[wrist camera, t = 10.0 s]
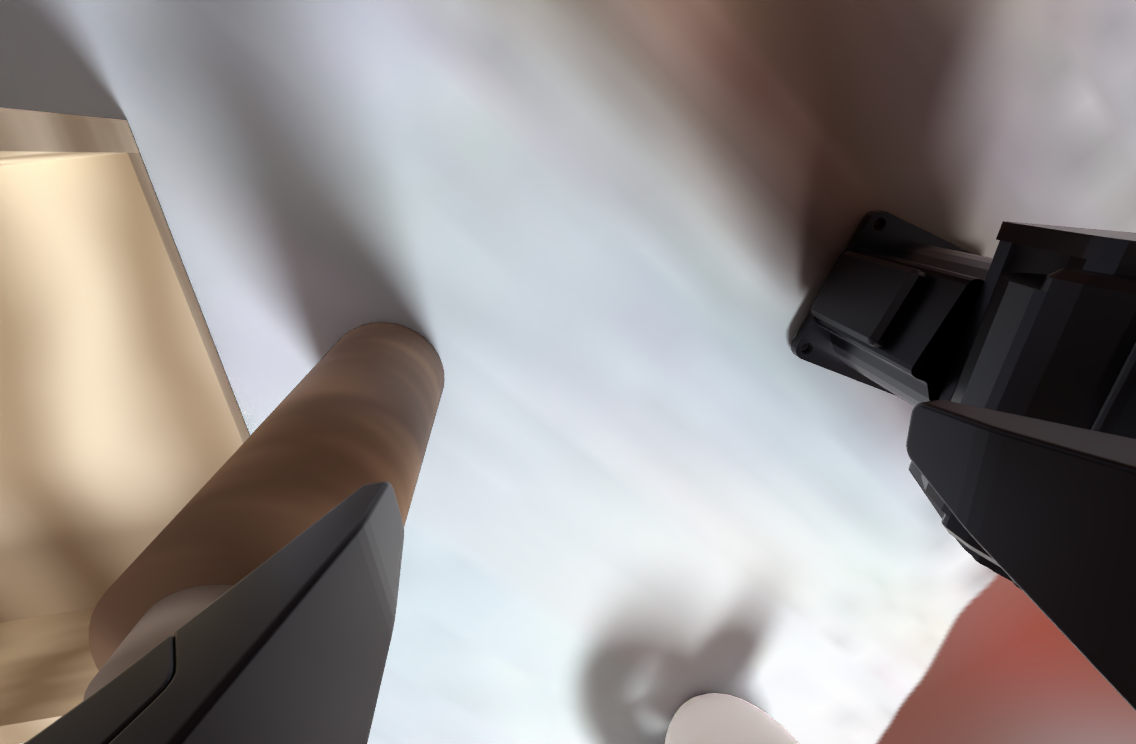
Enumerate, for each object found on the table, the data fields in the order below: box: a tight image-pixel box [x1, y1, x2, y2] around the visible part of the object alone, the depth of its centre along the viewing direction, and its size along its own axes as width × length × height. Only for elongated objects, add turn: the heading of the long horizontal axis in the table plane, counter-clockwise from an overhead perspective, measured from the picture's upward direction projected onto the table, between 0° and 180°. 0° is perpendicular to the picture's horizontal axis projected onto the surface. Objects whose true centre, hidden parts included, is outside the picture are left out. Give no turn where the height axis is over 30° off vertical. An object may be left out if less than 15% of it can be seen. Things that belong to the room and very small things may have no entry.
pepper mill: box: [83, 322, 444, 701], centre depth 14 cm, size 5×5×17 cm
